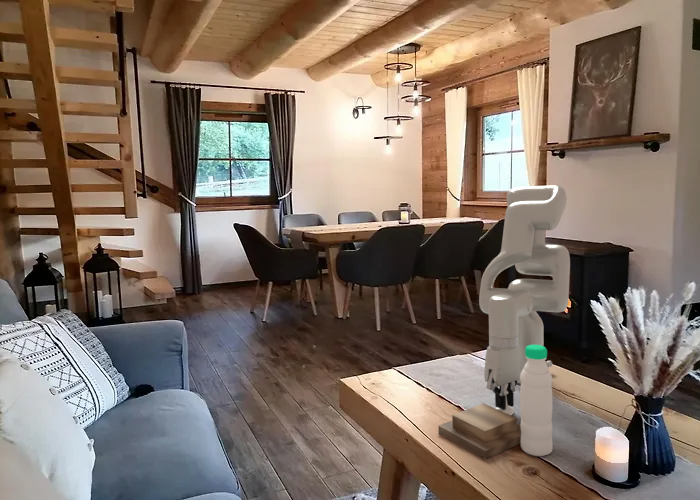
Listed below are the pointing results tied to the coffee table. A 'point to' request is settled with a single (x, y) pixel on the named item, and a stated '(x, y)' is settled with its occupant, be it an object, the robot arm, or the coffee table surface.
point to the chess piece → (508, 409)
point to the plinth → (478, 444)
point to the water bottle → (536, 403)
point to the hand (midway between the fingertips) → (504, 406)
